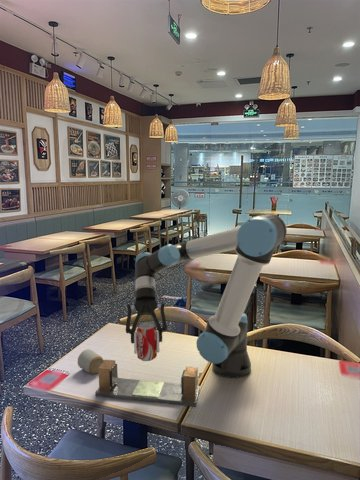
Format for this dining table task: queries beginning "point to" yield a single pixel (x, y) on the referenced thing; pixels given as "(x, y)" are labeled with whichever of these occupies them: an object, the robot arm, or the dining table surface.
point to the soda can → (146, 341)
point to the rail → (148, 387)
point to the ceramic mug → (90, 361)
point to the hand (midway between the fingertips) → (146, 351)
